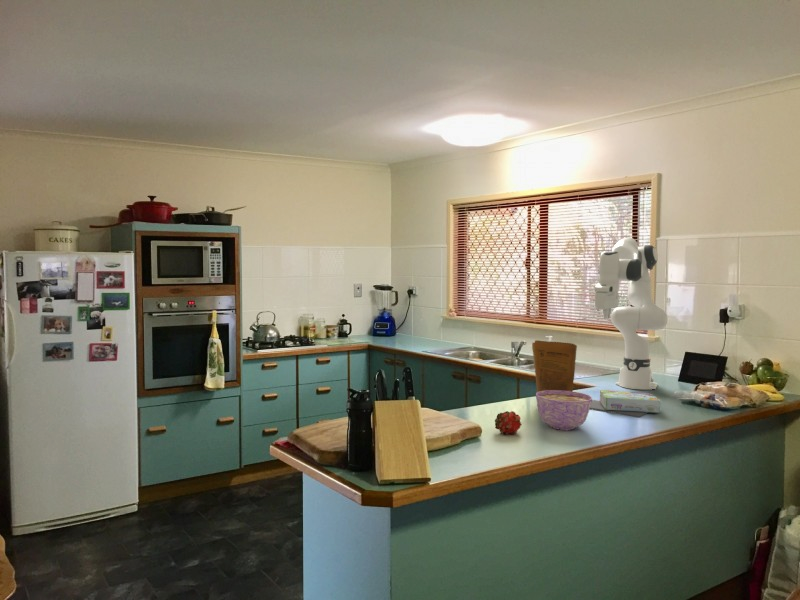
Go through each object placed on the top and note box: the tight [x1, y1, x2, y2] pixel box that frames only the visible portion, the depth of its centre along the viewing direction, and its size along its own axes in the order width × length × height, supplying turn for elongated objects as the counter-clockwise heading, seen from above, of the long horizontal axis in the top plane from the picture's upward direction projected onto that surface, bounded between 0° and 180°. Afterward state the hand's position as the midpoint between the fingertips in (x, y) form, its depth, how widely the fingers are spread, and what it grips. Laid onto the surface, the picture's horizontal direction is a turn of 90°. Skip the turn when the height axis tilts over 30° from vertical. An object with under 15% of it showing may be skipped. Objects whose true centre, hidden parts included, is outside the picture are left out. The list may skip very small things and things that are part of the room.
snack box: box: [599, 390, 661, 414], centre depth 273 cm, size 21×6×15 cm
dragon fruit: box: [494, 411, 523, 435], centre depth 231 cm, size 8×8×12 cm
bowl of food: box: [535, 390, 593, 431], centre depth 241 cm, size 20×20×12 cm
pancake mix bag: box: [531, 340, 578, 407], centre depth 268 cm, size 7×19×28 cm, turn 45°
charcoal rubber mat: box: [589, 399, 649, 418], centre depth 274 cm, size 16×26×1 cm, turn 54°
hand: (606, 318), depth 296 cm, fingers closed
